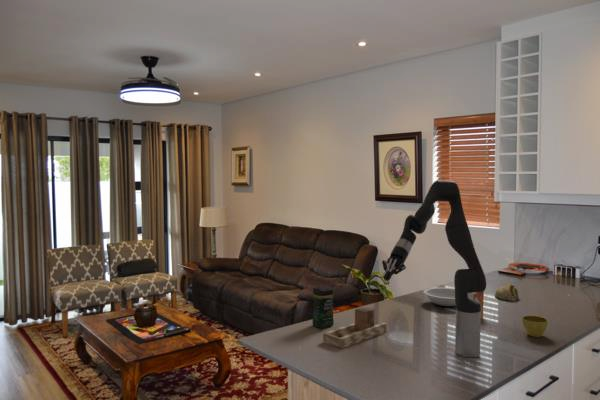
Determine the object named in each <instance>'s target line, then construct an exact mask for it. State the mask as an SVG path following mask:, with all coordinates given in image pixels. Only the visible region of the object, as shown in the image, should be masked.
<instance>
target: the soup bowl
mask: <svg viewBox="0 0 600 400" xmlns="http://www.w3.org/2000/svg"><path fill="white" fill-rule="evenodd" d="M423 294H424V295H426V296H427V298H428V299H429V301H431V302H432V303H434V305H439V306H442V307H456V303H455V288H451V287H429V288H426V289H424V290H423Z"/></svg>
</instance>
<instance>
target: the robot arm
mask: <svg viewBox="0 0 600 400" xmlns="http://www.w3.org/2000/svg"><path fill="white" fill-rule="evenodd" d="M436 202H444V203H445V202H447V203H449V206H450V214H449V216H448V218H447V220H446V223H445V227H444V228H445V233H446V238H447V241H448V244H449V245H450V247H451V248H452V249H453V250H454V251H455V252H456V253H457V254H458V255H459V256H460V257H461V258H462V259H463V260H464V262H465V264H466V266H467V268H459V269H457V270H456V271H455V274H454V276H453V277H454V278H453V281H454V289H455V303H456V306H455V329H454V330H455V332H454V335H455V337H454V338H455V340H454V342H455V343H454V352H455V354H457V355H459V356H461V357H463V358H480V355H481V321H482V320H481V319H482V317H481V305H480V303H478V302H477V301H474V300H471V299H469V298H468V293H479V292H483V291H486V289H487V279H486V275H485V272H484V270H483V267H482V264H481V262H480V260H479V258H478V255H477V252H476V249H475V245H474V243H473V240H472V239H473V238H472V235H471V231H470V227H469V225H468V223H467V219H466V215H465V212H464V208H463V203H462V196H461V193H460V188H459V186H458V183H456V182H455V181H453V180H443V179H442V180H439V179H437V180H435V181H433V183H432V184H431V185H430V188H429V189H428V192H427V194H426V196H425V198H424V200H423V202H422V203H421V205H420V207H419V208H418V209H417V210H416V212H415V213H414V214H409V215H408V216H406V218H405V221H404V224H403V225H404V226H403V229H402V230H403V231H402V234H401V235H400V237H399V239H398V240H397V242H396V243H395V245H394V247H393V249H392V251H391V252H390V256H389V257H388V258H387V260H382V262H381V263H382V268H383V270H384V272H385V273H384V275H383V279H384V281H386V282H389V281H390V280H391V279H392V276H393V275H398V274H400V273H401V272H403V271H404V270H406V269H407V266H406V264H405V261H406V260H407V259H408V256H409V254H410V253H411V251H412V248H413V246H414V244H415V242H416V240H417V235H416V234H418V235H421V234H423V233H424V232H426V228H427V226H428V225H427V224H428V222H429V221H430V220H431V219H432V217H433V216H434V214H435V212H436V211H435V210H436V207H435V203H436ZM415 233H416V234H415Z"/></svg>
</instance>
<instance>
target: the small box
mask: <svg viewBox="0 0 600 400" xmlns="http://www.w3.org/2000/svg"><path fill="white" fill-rule="evenodd" d="M484 293H485V292H484V291H483V292H479V293H468V298H469V299H471V300H474V301H477V302H478V303H480V305H481V318H483V317H484V300H485V299H484Z"/></svg>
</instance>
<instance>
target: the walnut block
mask: <svg viewBox="0 0 600 400" xmlns="http://www.w3.org/2000/svg"><path fill="white" fill-rule="evenodd" d="M354 323H355V331H357V332H358V331H361V330H364V329H367V328H369V327H372V326H375V308H370V307H366V306H362V307H358V308H355V309H354Z"/></svg>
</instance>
